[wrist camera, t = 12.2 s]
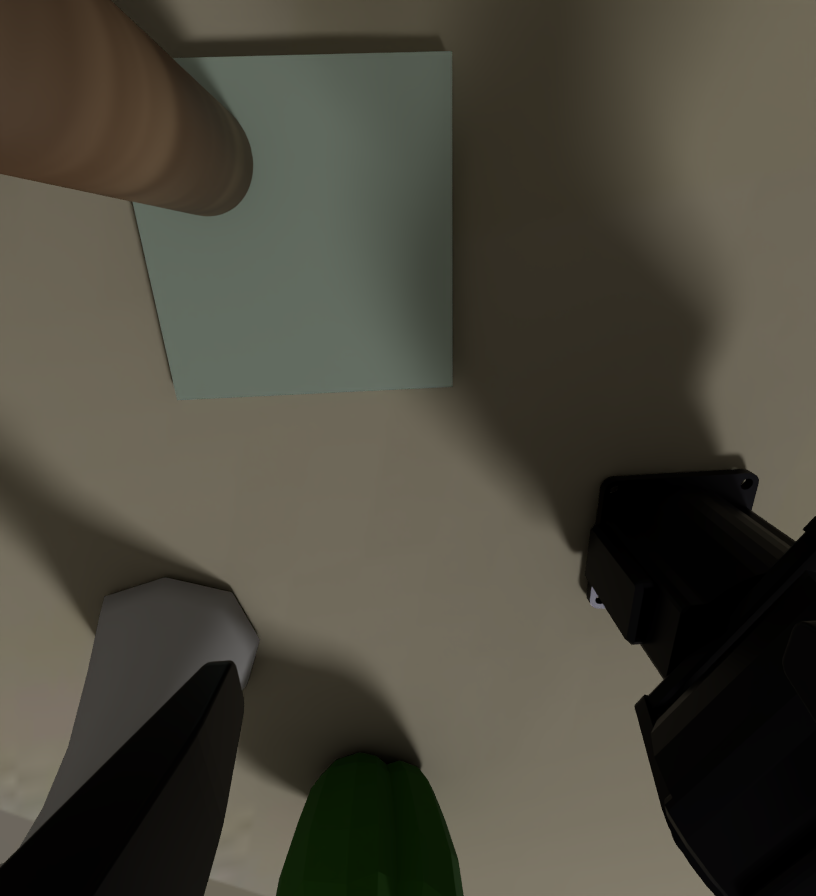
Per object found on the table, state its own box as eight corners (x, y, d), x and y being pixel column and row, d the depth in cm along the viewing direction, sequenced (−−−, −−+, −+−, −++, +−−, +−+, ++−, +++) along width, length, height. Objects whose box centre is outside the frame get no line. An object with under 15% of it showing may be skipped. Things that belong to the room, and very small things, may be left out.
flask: (81, 575, 21) (-160, 836, 11) (252, 570, 21) (152, 818, 12) (118, 698, 23) (-52, 989, 14) (269, 692, 24) (199, 971, 15)
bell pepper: (275, 814, 27) (220, 1103, 18) (321, 714, 24) (285, 995, 15) (412, 841, 29) (426, 1119, 20) (470, 750, 26) (518, 1024, 17)
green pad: (449, 58, 14) (452, 51, 14) (450, 382, 18) (452, 386, 18) (111, 67, 14) (100, 59, 14) (183, 395, 18) (177, 399, 17)
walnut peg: (267, 58, 14) (-516, -1286, 2) (289, 240, 16) (-21, 195, 4) (96, 63, 14) (-2057, -1382, 2) (138, 247, 15) (-718, 221, 3)
